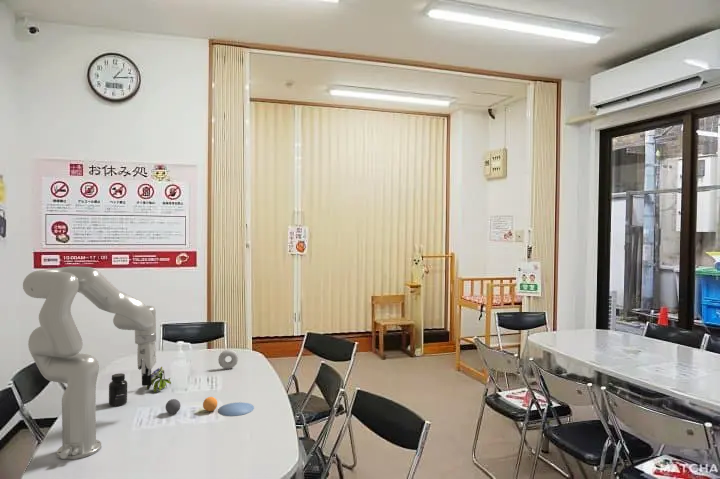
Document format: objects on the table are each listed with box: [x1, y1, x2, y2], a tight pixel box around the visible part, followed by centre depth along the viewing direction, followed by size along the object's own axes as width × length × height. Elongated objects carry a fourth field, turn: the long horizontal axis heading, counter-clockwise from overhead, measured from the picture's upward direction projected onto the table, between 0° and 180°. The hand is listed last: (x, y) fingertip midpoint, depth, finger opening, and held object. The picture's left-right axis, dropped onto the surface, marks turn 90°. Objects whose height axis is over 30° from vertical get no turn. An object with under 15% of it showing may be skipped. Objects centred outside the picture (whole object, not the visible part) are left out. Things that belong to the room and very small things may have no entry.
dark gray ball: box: [165, 398, 181, 415], centre depth 190 cm, size 6×6×6 cm
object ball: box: [202, 396, 218, 412], centre depth 193 cm, size 6×6×6 cm
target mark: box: [217, 401, 255, 417], centre depth 195 cm, size 14×14×1 cm
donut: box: [218, 348, 239, 370], centre depth 250 cm, size 10×4×10 cm, turn 112°
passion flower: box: [145, 366, 172, 394], centre depth 219 cm, size 11×11×12 cm
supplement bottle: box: [108, 373, 128, 407], centre depth 200 cm, size 7×7×12 cm
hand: (146, 384), depth 189 cm, fingers closed
